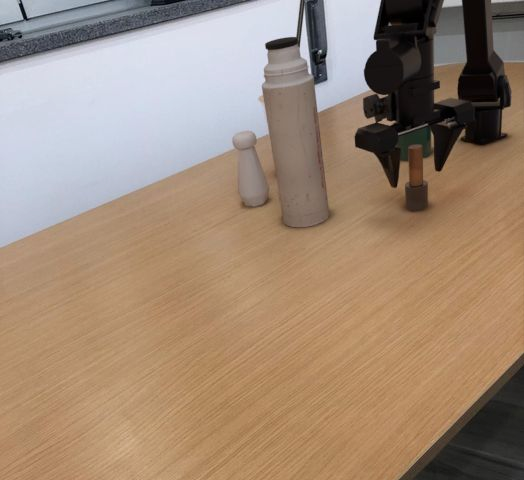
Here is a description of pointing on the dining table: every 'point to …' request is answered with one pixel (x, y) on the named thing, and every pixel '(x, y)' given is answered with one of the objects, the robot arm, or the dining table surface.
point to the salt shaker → (250, 170)
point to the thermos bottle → (294, 134)
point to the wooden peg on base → (416, 181)
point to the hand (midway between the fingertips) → (416, 179)
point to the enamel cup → (415, 142)
